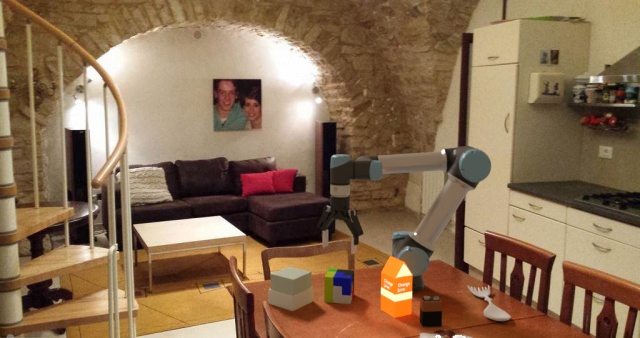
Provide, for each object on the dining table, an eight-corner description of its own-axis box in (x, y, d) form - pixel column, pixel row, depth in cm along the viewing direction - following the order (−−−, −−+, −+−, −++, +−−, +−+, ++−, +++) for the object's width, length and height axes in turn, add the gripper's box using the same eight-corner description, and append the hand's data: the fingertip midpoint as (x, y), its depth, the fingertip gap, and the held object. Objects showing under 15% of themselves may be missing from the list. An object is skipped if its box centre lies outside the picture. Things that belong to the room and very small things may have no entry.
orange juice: (394, 318, 193) (395, 263, 190) (380, 309, 200) (381, 256, 198) (412, 314, 196) (413, 260, 193) (397, 305, 204) (398, 253, 201)
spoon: (489, 292, 218) (489, 284, 218) (514, 326, 187) (515, 316, 186) (466, 292, 219) (466, 283, 218) (488, 325, 187) (488, 316, 187)
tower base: (313, 302, 208) (313, 287, 207) (292, 311, 199) (292, 296, 198) (289, 295, 215) (289, 280, 214) (268, 304, 206) (268, 288, 205)
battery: (419, 322, 189) (419, 294, 188) (438, 321, 190) (439, 294, 188) (422, 327, 185) (423, 299, 183) (442, 327, 185) (443, 299, 184)
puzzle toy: (350, 304, 205) (350, 278, 204) (324, 302, 207) (324, 276, 206) (354, 294, 215) (354, 270, 214) (329, 292, 217) (329, 268, 216)
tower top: (311, 287, 207) (311, 271, 206) (293, 295, 198) (293, 279, 198) (289, 281, 214) (289, 266, 213) (270, 289, 205) (270, 273, 204)
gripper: (308, 192, 210) (308, 246, 213) (362, 200, 195) (361, 258, 198) (320, 190, 216) (319, 242, 219) (373, 197, 201) (372, 253, 204)
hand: (339, 249), depth 209 cm, fingers open, 13 cm apart
